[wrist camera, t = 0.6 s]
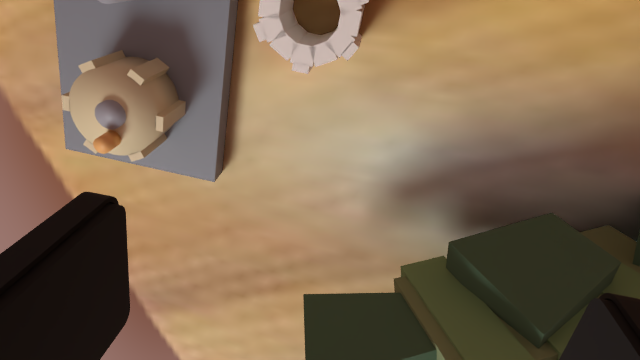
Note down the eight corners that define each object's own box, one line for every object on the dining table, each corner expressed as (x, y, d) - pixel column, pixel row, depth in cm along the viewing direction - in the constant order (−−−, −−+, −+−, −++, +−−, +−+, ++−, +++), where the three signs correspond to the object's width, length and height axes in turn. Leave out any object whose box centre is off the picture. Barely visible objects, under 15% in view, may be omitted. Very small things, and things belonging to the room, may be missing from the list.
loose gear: (279, -60, 31) (262, -64, 26) (378, -40, 31) (378, -40, 26) (266, 48, 34) (248, 61, 30) (355, 67, 34) (351, 83, 30)
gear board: (60, -162, 30) (-33, -198, 23) (249, -124, 30) (210, -149, 23) (79, 140, 40) (18, 176, 33) (221, 172, 39) (189, 214, 33)
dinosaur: (295, 358, 38) (363, 644, 22) (273, 245, 34) (339, 501, 17) (644, 264, 44) (914, 434, 27) (668, 155, 39) (1014, 281, 22)
